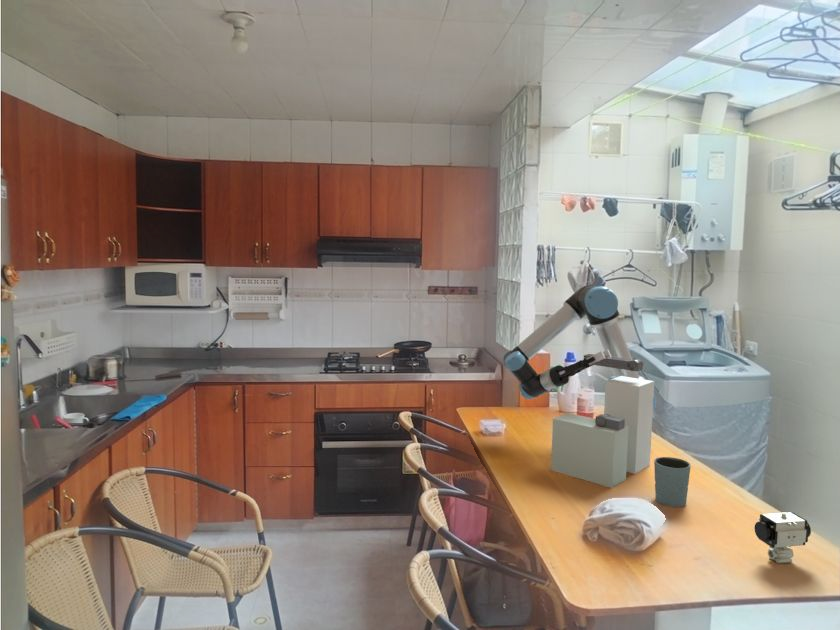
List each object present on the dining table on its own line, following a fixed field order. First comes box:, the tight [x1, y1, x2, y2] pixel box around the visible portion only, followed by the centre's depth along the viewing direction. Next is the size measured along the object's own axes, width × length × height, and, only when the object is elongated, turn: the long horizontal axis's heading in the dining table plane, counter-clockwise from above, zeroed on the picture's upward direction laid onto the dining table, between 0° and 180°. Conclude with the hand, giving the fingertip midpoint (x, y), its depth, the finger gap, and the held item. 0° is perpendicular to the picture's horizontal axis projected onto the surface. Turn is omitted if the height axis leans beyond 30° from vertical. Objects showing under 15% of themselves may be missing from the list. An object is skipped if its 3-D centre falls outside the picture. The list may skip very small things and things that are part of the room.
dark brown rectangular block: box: [583, 353, 644, 372], centre depth 209 cm, size 20×5×3 cm, turn 47°
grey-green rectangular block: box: [550, 412, 629, 489], centre depth 198 cm, size 22×10×21 cm, turn 46°
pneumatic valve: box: [754, 512, 812, 564], centre depth 144 cm, size 6×12×12 cm, turn 99°
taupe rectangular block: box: [603, 376, 655, 475], centre depth 207 cm, size 12×12×30 cm
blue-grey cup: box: [653, 456, 692, 508], centre depth 178 cm, size 10×10×12 cm
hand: (606, 354), depth 211 cm, fingers closed on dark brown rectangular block, 4 cm apart
